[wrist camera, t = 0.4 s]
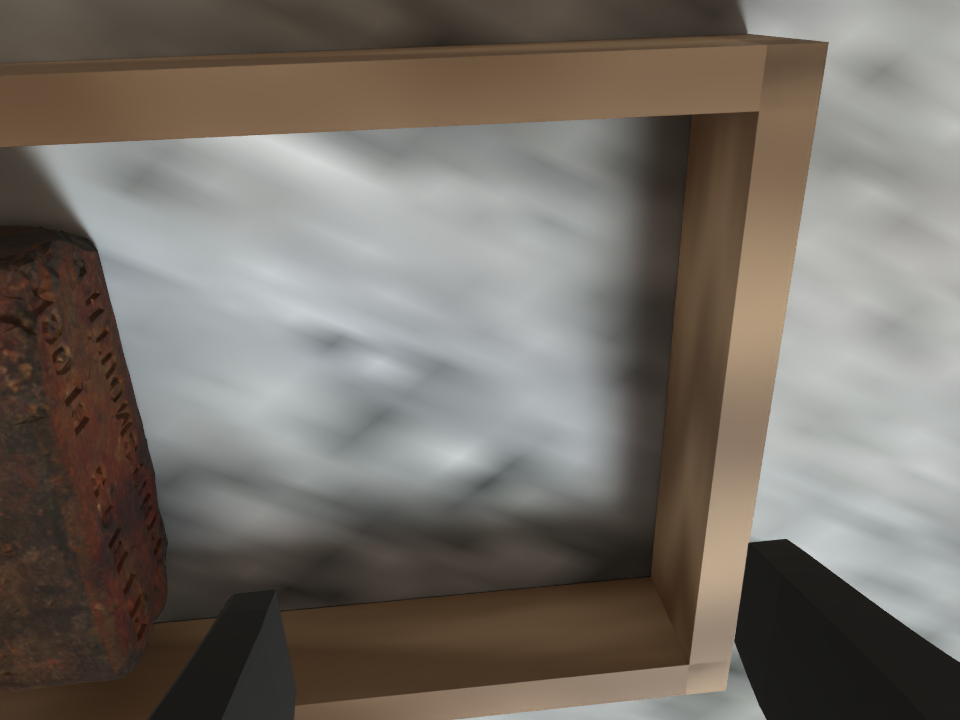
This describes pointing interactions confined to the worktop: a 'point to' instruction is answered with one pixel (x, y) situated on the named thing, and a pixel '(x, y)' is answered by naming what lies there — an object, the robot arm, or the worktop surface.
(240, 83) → the wooden frame
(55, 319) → the brick
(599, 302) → the worktop surface
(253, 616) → the robot arm
